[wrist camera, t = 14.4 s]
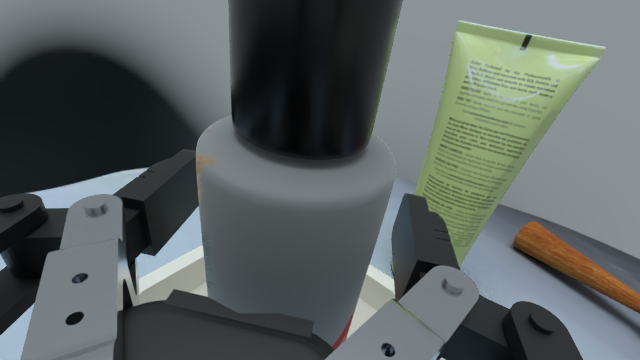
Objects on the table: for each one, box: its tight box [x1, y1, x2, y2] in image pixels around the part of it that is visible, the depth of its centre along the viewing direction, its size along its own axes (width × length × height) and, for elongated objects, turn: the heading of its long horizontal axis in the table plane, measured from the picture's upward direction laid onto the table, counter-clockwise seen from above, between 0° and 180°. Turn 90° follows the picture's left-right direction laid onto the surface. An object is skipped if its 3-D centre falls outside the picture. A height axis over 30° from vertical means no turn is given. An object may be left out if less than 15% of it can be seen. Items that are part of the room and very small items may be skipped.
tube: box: [392, 20, 606, 273], centre depth 22 cm, size 6×5×20 cm
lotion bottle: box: [196, 0, 403, 350], centre depth 11 cm, size 6×6×20 cm
